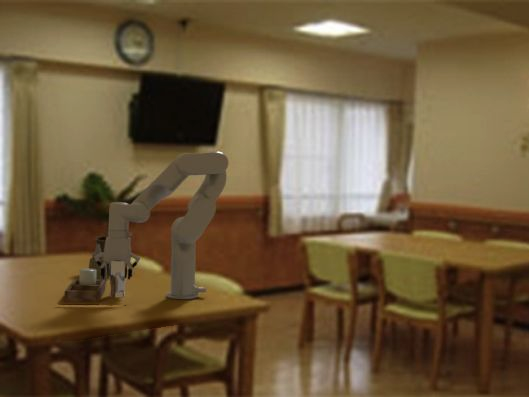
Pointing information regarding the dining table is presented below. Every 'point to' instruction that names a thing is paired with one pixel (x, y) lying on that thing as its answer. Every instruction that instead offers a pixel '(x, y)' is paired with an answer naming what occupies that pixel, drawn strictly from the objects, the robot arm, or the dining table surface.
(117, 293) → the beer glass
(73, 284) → the carrier
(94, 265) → the squeeze bottle
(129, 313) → the dining table surface
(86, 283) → the grey rounded piece
